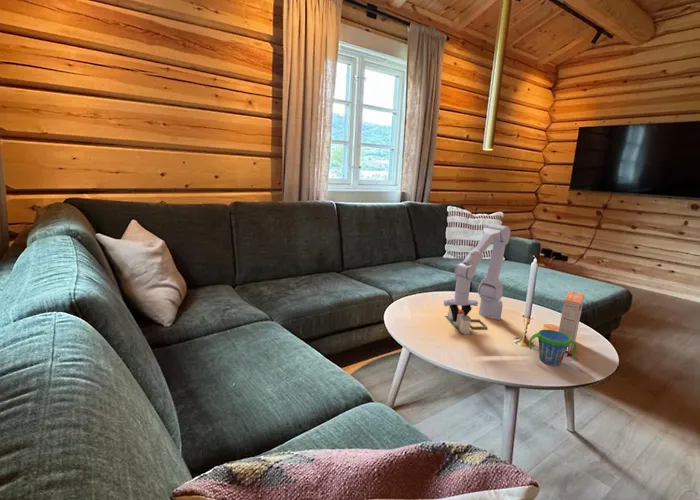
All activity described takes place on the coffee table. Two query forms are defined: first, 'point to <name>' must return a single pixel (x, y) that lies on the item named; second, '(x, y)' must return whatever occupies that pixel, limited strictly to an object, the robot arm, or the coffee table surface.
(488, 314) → the robot arm
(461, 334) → the block
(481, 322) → the tray
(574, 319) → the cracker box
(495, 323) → the coffee table surface
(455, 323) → the red cap fuse
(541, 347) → the snack cup
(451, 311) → the block
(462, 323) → the fuse slot
